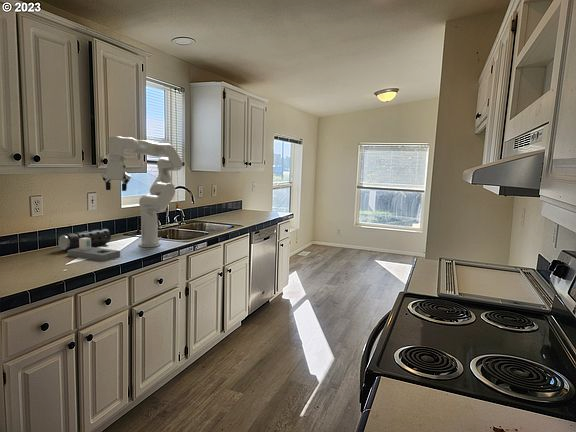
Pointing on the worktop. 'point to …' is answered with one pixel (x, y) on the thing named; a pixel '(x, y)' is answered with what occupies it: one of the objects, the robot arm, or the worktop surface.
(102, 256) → the socket block
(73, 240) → the black flashlight
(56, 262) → the worktop surface
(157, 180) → the robot arm
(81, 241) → the plug
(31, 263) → the worktop surface
